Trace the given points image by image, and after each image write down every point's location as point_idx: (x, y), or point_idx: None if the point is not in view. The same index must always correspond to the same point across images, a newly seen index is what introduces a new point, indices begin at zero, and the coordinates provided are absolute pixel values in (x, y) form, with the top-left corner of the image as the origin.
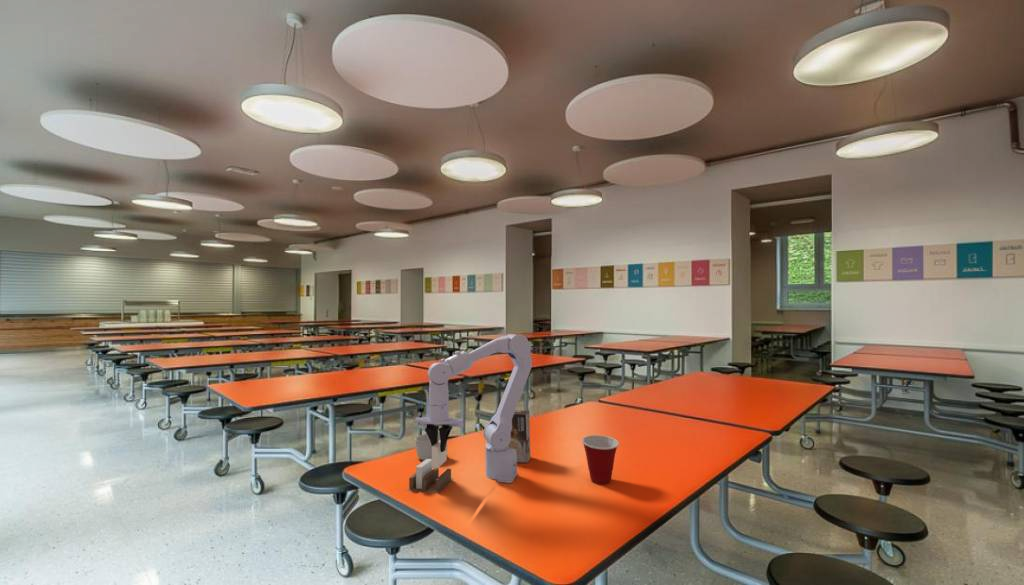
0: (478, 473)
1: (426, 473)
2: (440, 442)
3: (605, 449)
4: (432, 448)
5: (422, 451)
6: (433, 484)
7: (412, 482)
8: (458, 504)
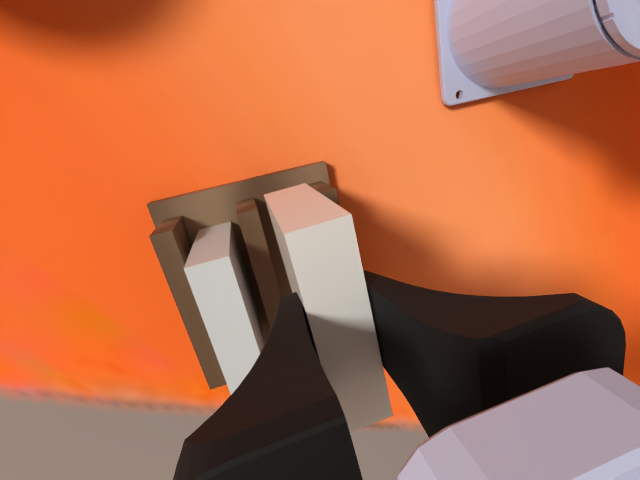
0: (385, 3)
1: (252, 308)
2: (400, 389)
3: None
4: None
5: None
6: (277, 265)
7: None
8: None
